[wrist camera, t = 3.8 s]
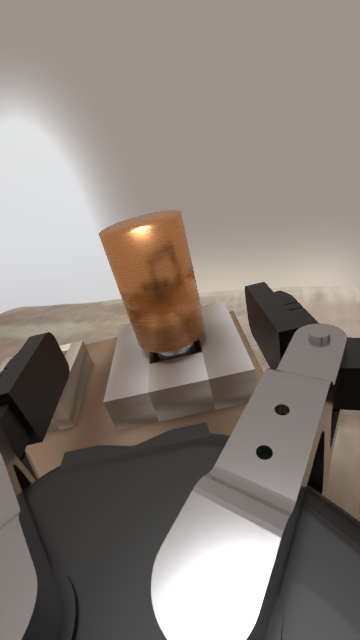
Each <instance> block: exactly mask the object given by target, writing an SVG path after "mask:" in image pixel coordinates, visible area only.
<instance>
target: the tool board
mask: <svg viewBox="0 0 360 640" xmlns="http://www.w3.org/2000/svg"><path fill="white" fill-rule="evenodd" d="M201 308H202V313H203V318H204V322H205V330H204V332H203V334H202V335H201V336H200V337H199V338H198V339H197V340H196V341H195V342H194V343H195V347H196V351H197V353H196V354H192V355H187V356H183V357H178V358H174V359H169V360H165V361H159V358H158V355H157V353H155V352H149V351H146V350H144V349H142V348H141V347H140V346H139V344H138V342H137V339H136V336H135V333H134V330H133V328H132V325H131V323H129V324H125V325H121V326H120V330H119V335H118V337H117V338H113V339H109V340H104V341H100V342H96V343H91V344H87V345H85V344H84V342H83V341H79V342H74V343H70V344H66V345H61V346H59V347H60V349H61V350H62V352H63V354H64V356H65V358H66V360H67V362H68V365H69V370H70V374H69V378H68V380H67V383H66V385H65V388H64V390H63V393H62V395H61V398H60V400H59V403H58V405H57V408H56V410H55V413H54V415H53V418H52V420H51V423H50V425H49V428H48V430H47V433H46V435H45V438H44V440H43V442H40V443H36V444H31V445H27V447H26V449H25V451H26V452H27V453H28V455H29V456H30V458H31V460H32V463H33V465H34V467H35V469H36V471H37V473H38V475H39V478H40V477H42V476H43V475H45V474H46V473H48V472H49V471H51V470H53V469H55V468H57V467H59V466H60V465H61V462H62V459H63V456H64V452H68V451H73V450H78V449H82V448H87V447H92V446H96V445H119V446H133V445H137V444H139V443H142V442H144V441H146V440H148V439H151V438H153V437H155V436H157V435H160V434H162V433H164V432H167V431H169V430H171V429H176V428H180V427H185V426H190V425H194V424H199V423H204V422H207V426H208V429H209V433H216V434H224V435H228V436H231V434H232V432H233V430H234V428H235V426H236V424H237V422H238V421H239V419H240V417H241V415H242V413H243V411H244V409H245V407H246V406H247V404H248V402H249V400H250V398H251V396H252V394H253V393H254V391H255V389H256V387H257V385H258V383H259V381H260V379H261V378H262V376H263V374H264V373H263V371H262V369H261V367H260V365H259V363H258V361H257V359H256V357H255V355H254V353H253V351H252V349H251V347H250V345H249V343H248V341H247V338H246V336H245V334H244V332H243V330H242V328H241V326H240V324H239V322H238V320H237V318H236V316H235V314H234V312H233V311H231V312H229V311H228V309H227V307H226V305H225V303H224V302H220V303H215V304H211V305H207V306H202V307H201ZM11 358H13V357H9V358H5V360H4V361H3V362H2V364H1V365H0V373H1V371H2V370H4V369H3V368H4V367H5V366H6V364H7V363H8V362H9V360H10V359H11Z"/></svg>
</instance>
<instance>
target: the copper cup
mask: <svg viewBox="0 0 360 640" xmlns="http://www.w3.org/2000/svg"><path fill="white" fill-rule="evenodd" d="M99 236H100V238H101V241H102V244H103V247H104V249H105V252H106V255H107V258H108V261H109V263H110V266H111V269H112V272H113V275H114V277H115V280H116V283H117V286H118V289H119V291H120V294H121V297H122V300H123V303H124V305H125V308H126V311H127V314H128V316H129V319H130V322H131V325H132V328H133V330H134V333H135V336H136V339H137V342H138V344H139V346H140V347H141V348H142V349H144V350H146V351H149V352H155V353H157V355H158V358H159V361H165V360H169V359H174V358H178V357H183V356H187V355H192V354H196V353H197V351H196V347H195V343H194V342H195V341H196V340H197V339H198V338H199V337H200V336H201V335H202V334H203V332H204V330H205V322H204V318H203V313H202V308H201V304H200V299H199V294H198V290H197V285H196V280H195V276H194V271H193V266H192V262H191V257H190V253H189V248H188V243H187V238H186V234H185V229H184V224H183V220H182V215H181V212H180V211H175V210H171V211H161V212H155V213H150V214H146V215H142V216H138V217H135V218H131V219H128V220H125V221H122V222H119V223H116V224H114V225H112V226H109V227H107V228H105V229H104V230H102V231H101V232H100V233H99Z"/></svg>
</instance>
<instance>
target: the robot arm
mask: <svg viewBox="0 0 360 640" xmlns="http://www.w3.org/2000/svg"><path fill="white" fill-rule="evenodd" d="M245 297H246V305H247V312H248V320H249V326H250V329H251V332H252V335H253V337H254V339H255V340H256V342H257V344H258V346H259V348H260V350H261V352H262V353H263V355H264V357H265V359H266V361H267V363H268V365H269V366H270V368H271V369H270V368H268V369H267V370H266V371H265V372H264V374H263V376H262V378H261V379H260V381H259V383H258V385H257V387H256V389H255V391H254V393H253V394H252V396H251V398H250V400H249V402H248V404H247V406H246V407H245V409H244V411H243V413H242V415H241V417H240V419H239V421H238V422H237V424H236V426H235V428H234V430H233V432H232V434H231V436H228V435H224V434H216V433H209V429H208V426H207V422H204V423H199V424H194V425H190V426H185V427H180V428H176V429H171V430H169V431H167V432H164V433H162V434H160V435H157V436H155V437H153V438H151V439H148V440H146V441H144V442H142V443H139V444H137V445H133V446H119V445H96V446H92V447H87V448H82V449H78V450H73V451H68V452H64V456H63V459H62V462H61V465H60V466H59V467H57V468H55V469H53V470H51V471H49V472H48V473H46V474H45V475H43V476H42V477H40V478H39V475H38V473H37V471H36V469H35V467H34V465H33V463H32V460H31V458H30V456H29V455H28V453H27V452H26V451H25V449H26V447H27V445H31V444H36V443H40V442H43V440H44V438H45V435H46V433H47V430H48V428H49V425H50V423H51V420H52V418H53V415H54V413H55V410H56V408H57V405H58V403H59V400H60V398H61V395H62V393H63V390H64V388H65V385H66V383H67V380H68V378H69V374H70V370H69V365H68V362H67V360H66V358H65V356H64V354H63V352H62V350H61V349H60V347H59V345H58V343H57V341H56V339H55V337H54V336H53V335H52V334H51V333H49V332H48V333H44V334H39V335H35V336H31V337H29V338H28V340H27V341H26V343H25V344H24V345H23V347H22V348H21V350H20V351H19V352H18V353H17V354H16V355H15V356H14V357H13V358H11V359H10V360H9V362H8V363H7V364H6V366H5V367H4V368H3V369H4V370H2V371H1V373H0V640H360V521H358V520H357V519H355V518H354V517H353V516H351V515H350V514H348V513H347V512H346V511H344V510H343V509H341V508H340V507H339V506H337V505H336V504H334V503H333V502H331V501H330V500H329V499H327V498H326V497H325V492H326V487H327V482H328V475H329V468H330V461H331V456H332V451H333V447H334V443H335V438H336V434H337V430H338V425H339V421H340V416H341V412H342V409H344V410H360V338H348V337H347V336H346V334H345V332H344V331H342V330H341V329H340V328H338V327H335V326H332V325H328V324H319V323H318V322H317V321H316V320H315V319H314V318H313V317H312V316H311V315H310V314H309V313H308V312H307V311H306V310H305V309H304V308H303V307H302V306H301V304H300V303H298V302H297V300H296V299H295V298H294V297H293V296H292V295H290V294H288V293H285V292H283V291H277V292H273V291H272V290H271V289H270V288H269V287H268V286H267V284H266V283H265V282H262V283H257V284H253V285H249V286H245Z"/></svg>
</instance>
